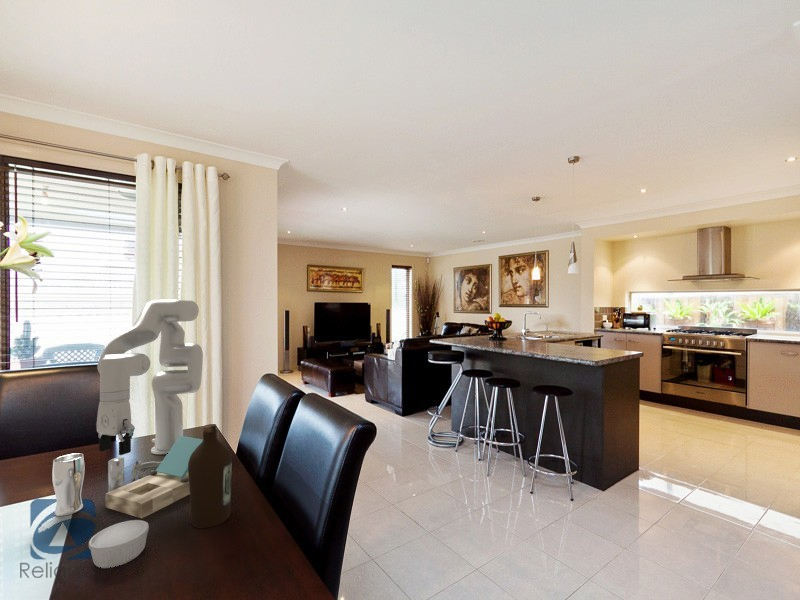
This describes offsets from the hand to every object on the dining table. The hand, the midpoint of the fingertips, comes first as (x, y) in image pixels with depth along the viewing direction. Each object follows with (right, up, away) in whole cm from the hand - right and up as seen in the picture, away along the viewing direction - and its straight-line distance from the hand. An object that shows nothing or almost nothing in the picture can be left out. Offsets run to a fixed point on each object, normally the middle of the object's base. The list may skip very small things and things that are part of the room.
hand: (114, 451), depth 120 cm
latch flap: (+18, -3, +5) cm, 19 cm away
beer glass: (-6, -13, -10) cm, 17 cm away
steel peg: (0, -13, 0) cm, 13 cm away
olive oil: (+38, -12, -16) cm, 43 cm away
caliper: (+5, -13, +17) cm, 22 cm away
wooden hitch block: (+16, -12, -2) cm, 20 cm away
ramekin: (+24, -12, -31) cm, 41 cm away
